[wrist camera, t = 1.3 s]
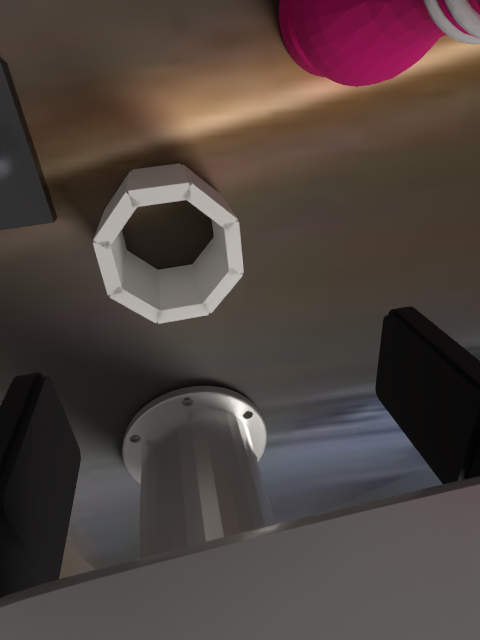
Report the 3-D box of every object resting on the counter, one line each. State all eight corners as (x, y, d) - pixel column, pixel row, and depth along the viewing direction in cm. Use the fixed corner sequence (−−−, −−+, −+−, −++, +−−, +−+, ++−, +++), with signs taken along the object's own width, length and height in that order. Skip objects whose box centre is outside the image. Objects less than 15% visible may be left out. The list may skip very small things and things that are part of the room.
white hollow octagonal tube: (229, 269, 28) (246, 308, 23) (123, 286, 28) (118, 330, 22) (216, 158, 25) (234, 176, 20) (94, 174, 24) (79, 197, 19)
